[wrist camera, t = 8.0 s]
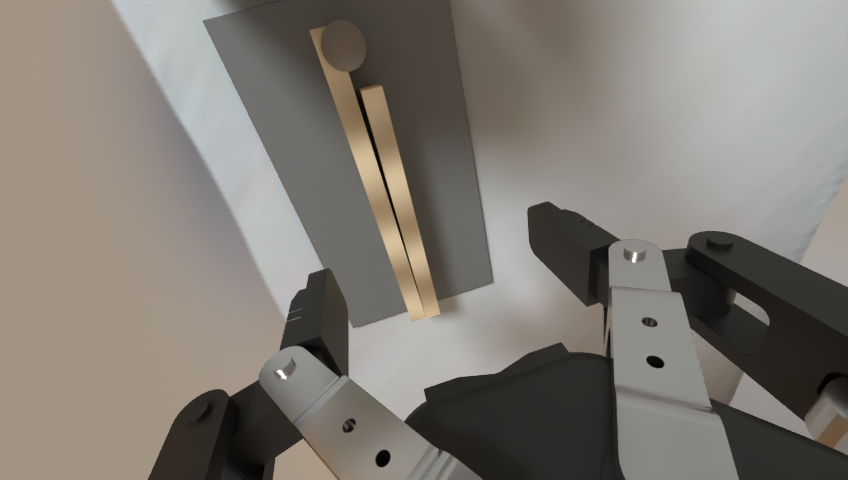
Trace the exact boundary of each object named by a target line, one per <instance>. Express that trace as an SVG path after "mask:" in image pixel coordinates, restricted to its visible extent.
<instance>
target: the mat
mask: <svg viewBox="0 0 848 480" xmlns="http://www.w3.org/2000/svg"><path fill="white" fill-rule="evenodd" d="M337 20H345V21H348V22H350V23H352V24H354V25H355V26H356V27H357V28H358V29H359V30H360V31H361V33H362V35H363V37H364V39H365V43H366V55H365V59H364V61H363V63H362V64H361V65H360V66H359V67H358V68H357V69H355V70H353V71H349V75H350V79H351V82H352V85H353V88H354V91H355V94H356V98H357V101H358V104H359V107H360V110H361V113H362V117H363V120H364V123H365V126H366V129H367V132H368V136H369V139H370V142H371V145H372V148H373V151H374V155H375V158H376V161H377V164H378V167H379V170H380V173H381V177H382V180H383V183H384V186H385V189H386V192H387V196H388V199H389V202H390V205H391V208H392V211H393V215H394V218H395V221H396V224H397V227H398V230H399V234H400V237H401V240H402V243H403V246H404V249H405V253H406V256H407V259H408V255H407V252H406V248H405V245H404V242H403V238H402V235H401V231H400V228H399V224H398V221H397V217H396V214H395V211H394V207H393V204H392V200H391V197H390V193H389V190H388V186H387V183H386V180H385V176H384V173H383V169H382V166H381V162H380V159H379V155H378V152H377V149H376V145H375V142H374V138H373V135H372V131H371V128H370V124H369V121H368V118H367V114H366V111H365V107H364V104H363V100H362V97H361V94H360V90H359V88H362V87H366V86H370V85H374V84H379V85H381V86H382V87H383V91H384V95H385V99H386V103H387V107H388V110H389V114H390V118H391V122H392V126H393V130H394V134H395V138H396V142H397V146H398V150H399V154H400V157H401V161H402V165H403V169H404V173H405V177H406V181H407V185H408V189H409V193H410V197H411V200H412V204H413V208H414V212H415V216H416V220H417V224H418V228H419V232H420V236H421V240H422V244H423V247H424V251H425V255H426V259H427V263H428V267H429V271H430V275H431V279H432V283H433V287H434V290H435V294H436V298H437V301H438V300H441V299H444V298H447V297H450V296H453V295H456V294H459V293H462V292H465V291H468V290H471V289H474V288H477V287H480V286H483V285H486V284H489V283H492V276H491V269H490V263H489V256H488V250H487V243H486V237H485V230H484V224H483V218H482V211H481V205H480V198H479V192H478V185H477V179H476V173H475V166H474V160H473V153H472V147H471V140H470V134H469V127H468V121H467V115H466V108H465V102H464V95H463V89H462V82H461V76H460V70H459V63H458V57H457V50H456V44H455V37H454V31H453V24H452V18H451V12H450V5H449V0H282V1H278V2H274V3H270V4H266V5H262V6H258V7H255V8H251V9H247V10H243V11H239V12H235V13H231V14H227V15H223V16H219V17H215V18H211V19H207V20H203V23H204V25H205V27H206V29H207V31H208V33H209V35H210V37H211V39H212V41H213V43H214V45H215V47H216V49H217V51H218V53H219V55H220V57H221V60H222V62H223V64H224V66H225V68H226V70H227V72H228V74H229V76H230V78H231V80H232V82H233V84H234V86H235V88H236V90H237V92H238V94H239V96H240V98H241V100H242V102H243V104H244V106H245V108H246V110H247V113H248V115H249V117H250V119H251V121H252V123H253V125H254V127H255V129H256V131H257V133H258V135H259V137H260V139H261V141H262V143H263V145H264V147H265V149H266V151H267V153H268V155H269V157H270V159H271V161H272V163H273V166H274V168H275V170H276V172H277V174H278V176H279V178H280V180H281V182H282V184H283V186H284V188H285V190H286V192H287V194H288V196H289V198H290V200H291V202H292V204H293V206H294V208H295V210H296V212H297V214H298V216H299V219H300V221H301V223H302V225H303V227H304V229H305V231H306V233H307V235H308V237H309V239H310V241H311V243H312V245H313V247H314V249H315V251H316V253H317V255H318V257H319V259H320V261H321V263H322V265H323V267H324V269H327V268H330V269H331V271H332V272H333V275H334V277H335V279H336V281H337V283H338V285H339V287H340V290H341V292H342V294H343V296H344V298H345V301H346V304H347V308H348V318H349V320H350V322H351V325H352V327H353V328H356V327H359V326H362V325H365V324H368V323H371V322H374V321H377V320H380V319H383V318H386V317H389V316H392V315H395V314H398V313H401V312H404V311H407V307H406V304H405V301H404V298H403V295H402V293H401V290H400V287H399V284H398V281H397V278H396V275H395V273H394V270H393V267H392V264H391V261H390V258H389V256H388V253H387V250H386V247H385V244H384V241H383V238H382V236H381V233H380V230H379V227H378V224H377V221H376V219H375V216H374V213H373V210H372V207H371V204H370V201H369V199H368V196H367V193H366V190H365V187H364V184H363V182H362V179H361V176H360V173H359V170H358V167H357V164H356V162H355V159H354V156H353V153H352V150H351V147H350V145H349V142H348V139H347V136H346V133H345V130H344V127H343V125H342V122H341V119H340V116H339V113H338V110H337V108H336V105H335V102H334V99H333V96H332V93H331V90H330V88H329V85H328V82H327V79H326V76H325V73H324V71H323V68H322V65H321V62H320V59H319V56H318V53H317V51H316V48H315V45H314V42H313V39H312V36H311V34H310V31H309V30H313V29H316V28H320V27H324V26H327V25H328V24H330V23H331V22H333V21H337ZM408 262H409V259H408ZM409 265H410V262H409ZM410 268H411V266H410ZM411 272H412V269H411ZM412 275H413V272H412ZM413 278H414V276H413ZM414 281H415V279H414ZM415 284H416V283H415ZM416 287H417V286H416ZM418 294H419V293H418ZM419 297H420V296H419Z"/></svg>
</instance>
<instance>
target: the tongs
mask: <svg viewBox="0 0 848 480" xmlns="http://www.w3.org/2000/svg"><path fill="white" fill-rule="evenodd" d="M309 31H310V34H311V36H312V39H313V42H314V45H315V48H316V51H317V53H318V56H319V59H320V62H321V65H322V68H323V71H324V73H325V76H326V79H327V82H328V85H329V88H330V90H331V93H332V96H333V99H334V102H335V105H336V108H337V110H338V113H339V116H340V119H341V122H342V125H343V127H344V130H345V133H346V136H347V139H348V142H349V145H350V147H351V150H352V153H353V156H354V159H355V162H356V164H357V167H358V170H359V173H360V176H361V179H362V182H363V184H364V187H365V190H366V193H367V196H368V199H369V201H370V204H371V207H372V210H373V213H374V216H375V219H376V221H377V224H378V227H379V230H380V233H381V236H382V238H383V241H384V244H385V247H386V250H387V253H388V256H389V258H390V261H391V264H392V267H393V270H394V273H395V275H396V278H397V281H398V284H399V287H400V290H401V293H402V295H403V298H404V301H405V304H406V307H407V310H408V312H409V315H410V318H411V321H412V322H413V321H416V320H419V319H422V318H425V317H426V316H425V313H424V310H423V307H422V303H421V300H420V297H419V294H418V290H417V287H416V284H415V281H414V278H413V275H412V272H411V268H410V265H409V262H408V259H407V256H406V253H405V249H404V246H403V243H402V240H401V237H400V234H399V230H398V227H397V224H396V221H395V218H394V215H393V211H392V208H391V205H390V202H389V199H388V196H387V192H386V189H385V186H384V183H383V180H382V177H381V173H380V170H379V167H378V164H377V161H376V158H375V155H374V151H373V148H372V145H371V142H370V139H369V136H368V132H367V129H366V126H365V123H364V120H363V117H362V113H361V110H360V107H359V104H358V101H357V98H356V94H355V91H354V88H353V85H352V82H351V79H350V75H349V71H353V70H355V69H357V68H358V67H359V66H360V65H361V64H362V63H363V61H364V59H365V55H366V43H365V39H364V37H363V35H362V33H361V31H360V30H359V29H358V28H357V27H356V26H355V25H354V24H352V23H350V22H348V21H345V20H337V21H333V22H331V23H330V24H328V25H327V26H324V27H320V28H316V29H313V30H309Z"/></svg>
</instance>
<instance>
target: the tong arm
mask: <svg viewBox="0 0 848 480" xmlns="http://www.w3.org/2000/svg"><path fill="white" fill-rule="evenodd" d="M359 90H360V94H361V97H362V100H363V104H364V107H365V111H366V114H367V118H368V121H369V124H370V128H371V131H372V135H373V138H374V142H375V145H376V149H377V152H378V155H379V159H380V162H381V166H382V169H383V173H384V176H385V180H386V183H387V186H388V190H389V193H390V197H391V200H392V204H393V207H394V211H395V214H396V217H397V221H398V224H399V228H400V231H401V235H402V238H403V242H404V245H405V248H406V252H407V255H408V259H409V262H410V266H411V269H412V272H413V276H414V279H415V283H416V286H417V290H418V293H419V296H420V300H421V303H422V306H423V309H424V312H425V315H426V318H430V317H433V316H436V315H439V314H440V310H439V306H438V302H437V298H436V294H435V290H434V287H433V283H432V279H431V275H430V271H429V267H428V263H427V259H426V255H425V251H424V247H423V244H422V240H421V236H420V232H419V228H418V224H417V220H416V216H415V212H414V208H413V204H412V200H411V197H410V193H409V189H408V185H407V181H406V177H405V173H404V169H403V165H402V161H401V157H400V154H399V150H398V146H397V142H396V138H395V134H394V130H393V126H392V122H391V118H390V114H389V110H388V107H387V103H386V99H385V95H384V91H383V87H382V86H381V85H379V84H374V85H370V86H366V87H362V88H359Z"/></svg>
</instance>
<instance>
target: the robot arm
mask: <svg viewBox="0 0 848 480" xmlns="http://www.w3.org/2000/svg"><path fill="white" fill-rule="evenodd" d="M528 231H529V243H530V246H531V249H532V251H533V253H534V254H535V255H536V256H537V257H538V258H539V259H540V260H541V261H542V262H543V263H544V264H545V265H546V266H547V267H548V268H549V269H550V270H551V271H552V272H553V273H554V274H555V275H556V276H557V277H558V278H559V279H560V280H561V281H562V282H563V283H564V284H565V285H566V286H567V287H568V288H569V289H570V290H571V291H572V292H573V293H574V294H575V295H576V296H577V297H578V298H579V299H580V300H581V301H582V302H583V303H584V304H585V305H586V306H587V307H588V306H591V305H594V304H597V303H599V302H600V303H601V304H602V305H603V354H602V355H597V354H592V353H583V352H570V353H569V352H568V350H567V349H566V348H565V347H564V345H563V344H562V343H561V342H560V343H558V344H555V345H552V346H549V347H546V348H543V349H540V350H537V351H534V352H531V353H528V354H527V355H525V356H524V357H522V358H521V359H519V360H518V361H516V362H515V363H513V364H512V365H510V366H508V367H507V368H505V369H504V370H502V371H501V372H499V373H496V374H488V375H478V376H467V377H458V378H455V379H452V380H449V381H446V382H443V383H440V384H437V385H435V386H432V387H429V388H426V389H424V392H425V396H426V400H427V401H426V402H424V403H423V404H421V405H420V406H419V407H417V408H416V409H415V410H414V411H413V412H412V413H411V414H410V415H409V416H408V417H407V418H406V420H405V421H404V422H403V421H402V420H401V419H399V418H398V417H397V416H396V415H395V414H393V413H392V412H391V411H390V410H388V409H387V408H386V407H385V406H383V405H382V404H381V403H380V402H378V401H377V400H376V399H375V398H373V397H372V396H371V395H370V394H368V393H367V392H366V391H365V390H364V389H362V388H361V387H360V386H359V385H357V384H356V383H355V382H354V381H352V380H351V379H350V378H349V377H348V308H347V304H346V301H345V298H344V296H343V294H342V292H341V290H340V287H339V285H338V283H337V281H336V279H335V277H334V275H333V272H332V271H331V269H330V268H327V269H324V270H320V271H317V272H314V273H311V274H309V276H308V282H307V287H306V289H303V290H300V291H298V293H297V294H296V296H295V297H294V298H293V300H292V301H291V305H290V309H289V314H288V317H287V322H286V326H285V330H284V334H283V338H282V342H281V346H280V350H279V352H277V353H276V354H274V355H273V356H272V357H271V358H270V359H269V360H268V361H267V362H266V363H265V364H264V366H263V368H262V369H261V371H260V374H259V380H258V381H256V382H254V383H253V384H251V385H249V386H248V387H246V388H244V389H243V390H241V391H239V392H237V393H236V394H234V395H232V396H231V397H230V396H229V395H228V394H227V393H226V392H225V391H224V390H221V389H215V390H211V391H208V392H206V393H203V394H201V395H200V396H198V397H197V398H195V399H194V400H192V401H191V402H190V403H189V404H188V405H187V406H185V408H183V410H182V411H181V412H180V413H179V414H178V416H177V417H176V419H175V420H174V422H173V424H172V426H171V428H170V431H169V433H168V435H167V437H166V440H165V442H164V444H163V446H162V449H161V451H160V453H159V456H158V458H157V460H156V463H155V465H154V467H153V469H152V472H151V474H150V476H149V478H148V480H273V472H274V464H275V457H277V456H278V455H279V454H281V453H282V452H284V451H285V450H287V449H288V448H290V447H291V446H293V445H294V444H296V443H297V442H299V441H300V440H301V439H304V440H305V441H306V442H307V443H308V445H309V446H310V447H311V448H312V450H313V451H314V452H315V453H316V454H317V456H318V457H319V458H320V459H321V460H322V462H323V463H324V464H325V465H326V466H327V468H328V469H329V470H330V471H331V472H332V474H333V475H334V476H335V477H336V478H337V480H848V287H846V286H844V285H842V284H840V283H838V282H835V281H833V280H831V279H829V278H827V277H825V276H823V275H821V274H819V273H816V272H814V271H812V270H810V269H808V268H806V267H803V266H802V265H799V264H797V263H795V262H793V261H791V260H789V259H787V258H785V257H782V256H780V255H778V254H776V253H774V252H772V251H770V250H768V249H765V248H763V247H761V246H759V245H757V244H755V243H753V242H751V241H748V240H746V239H744V238H742V237H740V236H737V235H734V234H730V233H726V232H718V231H705V232H699V233H696V234H694V235H692V236H691V237H690V238H689V241H688V245H687V248H683V249H672V250H660V248H658V247H657V246H656V245H654V244H652V243H649V242H646V241H642V240H634V239H628V240H620V239H618V238H616V237H615V236H613V235H612V234H610V233H608V232H607V231H605V230H604V229H602V228H601V227H599V226H597V225H595V224H594V223H593V222H591V221H589V220H587V219H586V218H585V217H583V216H582V215H580V214H578V213H576V212H573V211H569V210H565V209H563V210H561V209H559V208H558V207H556V206H555V205H553V204H552V203H550V202H544V203H541V204H537V205H534V206H531V207H529V208H528ZM737 292H738V293H740V294H741V295H743V296H745V297H746V298H748V299H749V300H751V301H753V302H754V303H756V304H757V305H759V306H760V307H761V308H763V309H764V311H765V312H766V313H767V315H768V317H769V320H770V324H769V326H768V325H766V324H765V323H763V322H762V321H760V320H759V319H757V318H756V317H754V316H753V315H751V314H750V313H748V312H747V311H745V310H744V309H742V308H741V307H739V306H738V305H736V304H734V303H733V301H734V299H735V296H736V293H737ZM690 328H692V329H693V330H694V331H695V332H696V333H698V334H699V335H700V336H701V337H702V338H704V339H705V340H706V341H707V342H708V343H710V344H711V345H712V346H713V347H715V348H716V349H717V350H718V351H719V352H721V353H722V354H723V355H724V356H725V357H727V358H728V359H729V360H730V361H731V362H733V363H734V364H735V365H736V366H738V367H739V368H740V369H741V370H742V371H744V372H745V373H746V374H747V375H748V376H750V377H751V378H752V379H753V380H754V381H756V382H757V383H758V384H759V385H761V386H762V387H763V388H764V389H765V390H767V391H768V392H769V393H770V394H771V395H773V396H774V397H775V398H776V399H777V400H779V401H780V402H781V403H782V404H783V405H785V406H786V407H787V408H788V409H790V410H791V411H792V412H793V413H794V414H796V415H797V416H798V417H799V418H801V419H802V420H803V421H804V422H805V424H806V427H807V429H808V431H809V433H810V434H811V436H812V437H813V438H814V440H815V441H814V440H812V439H809V438H807V437H805V436H802V435H800V434H797V433H794V432H792V431H790V430H787V429H785V428H782V427H780V426H777V425H775V424H772V423H770V422H768V421H765V420H763V419H760V418H758V417H755V416H753V415H750V414H748V413H745V412H743V411H740V410H738V409H735V408H733V407H730V406H728V405H726V404H723V403H721V402H718V401H716V400H713V399H711V398H709V397H708V393H707V389H706V386H705V382H704V378H703V374H702V371H701V367H700V363H699V359H698V355H697V352H696V348H695V344H694V340H693V337H692V333H691V329H690Z"/></svg>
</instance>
